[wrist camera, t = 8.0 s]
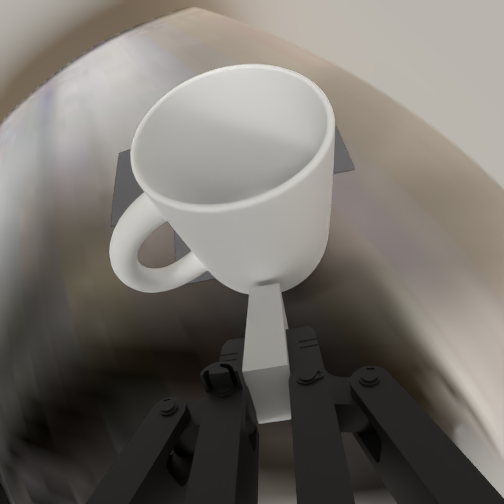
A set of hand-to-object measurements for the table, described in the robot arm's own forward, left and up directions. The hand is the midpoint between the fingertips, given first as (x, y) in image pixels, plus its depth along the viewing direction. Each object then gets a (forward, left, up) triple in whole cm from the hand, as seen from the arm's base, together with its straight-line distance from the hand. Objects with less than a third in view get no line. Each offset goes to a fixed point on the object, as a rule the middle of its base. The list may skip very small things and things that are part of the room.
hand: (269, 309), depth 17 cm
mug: (-1, +5, -3) cm, 6 cm away
